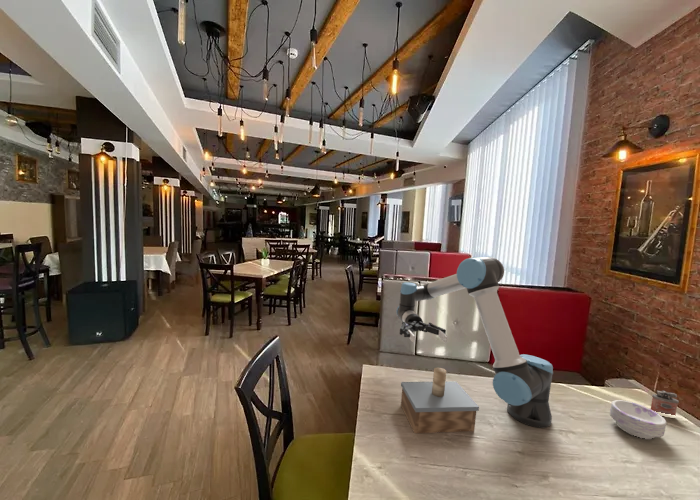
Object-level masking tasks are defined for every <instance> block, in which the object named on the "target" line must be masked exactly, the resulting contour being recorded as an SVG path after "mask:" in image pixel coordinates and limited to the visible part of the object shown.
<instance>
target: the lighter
mask: <svg viewBox="0 0 700 500" xmlns="http://www.w3.org/2000/svg"><path fill="white" fill-rule="evenodd" d="M651 398H652V399H651V405H650V409H651V410H653V411H656V412H661V413H665V414H671V415H675V416H676V414H677V409H678V404H679V400H678V399H677V398H678V395H677V393H674V392H668V391H665V390H656V394H654V393H653V394H651Z"/></svg>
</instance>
